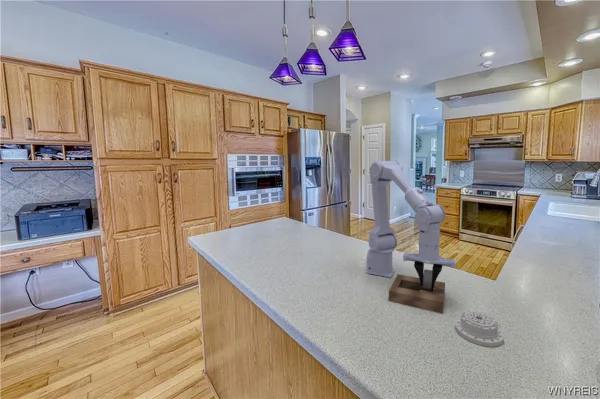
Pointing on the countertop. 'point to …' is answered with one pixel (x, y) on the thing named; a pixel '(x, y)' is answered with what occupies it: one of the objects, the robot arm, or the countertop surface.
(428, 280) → the footed peg
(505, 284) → the countertop surface
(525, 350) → the countertop surface
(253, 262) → the countertop surface
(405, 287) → the keyhole plate
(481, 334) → the mechanical component
